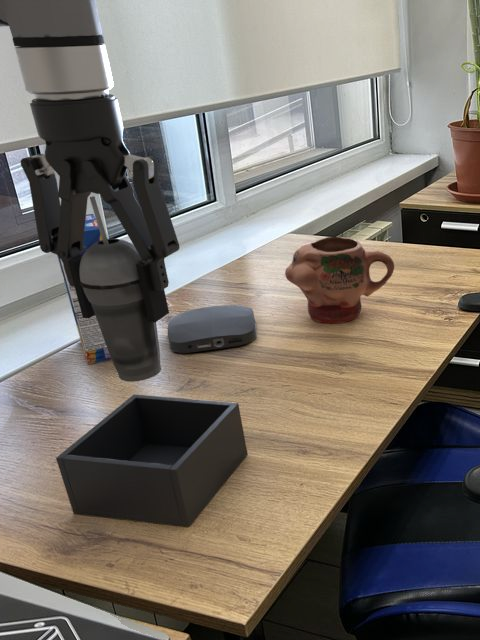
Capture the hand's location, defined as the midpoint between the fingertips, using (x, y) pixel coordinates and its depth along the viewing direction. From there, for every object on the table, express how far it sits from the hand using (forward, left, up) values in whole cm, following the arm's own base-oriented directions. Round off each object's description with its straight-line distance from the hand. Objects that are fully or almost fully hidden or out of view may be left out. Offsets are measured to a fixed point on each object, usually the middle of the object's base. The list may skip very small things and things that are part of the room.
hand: (126, 315), depth 77 cm
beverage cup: (0, 0, -7) cm, 7 cm away
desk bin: (0, 0, -22) cm, 22 cm away
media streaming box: (-16, +42, -22) cm, 50 cm away
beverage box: (-32, +34, -22) cm, 52 cm away
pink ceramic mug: (+4, +55, -22) cm, 59 cm away
